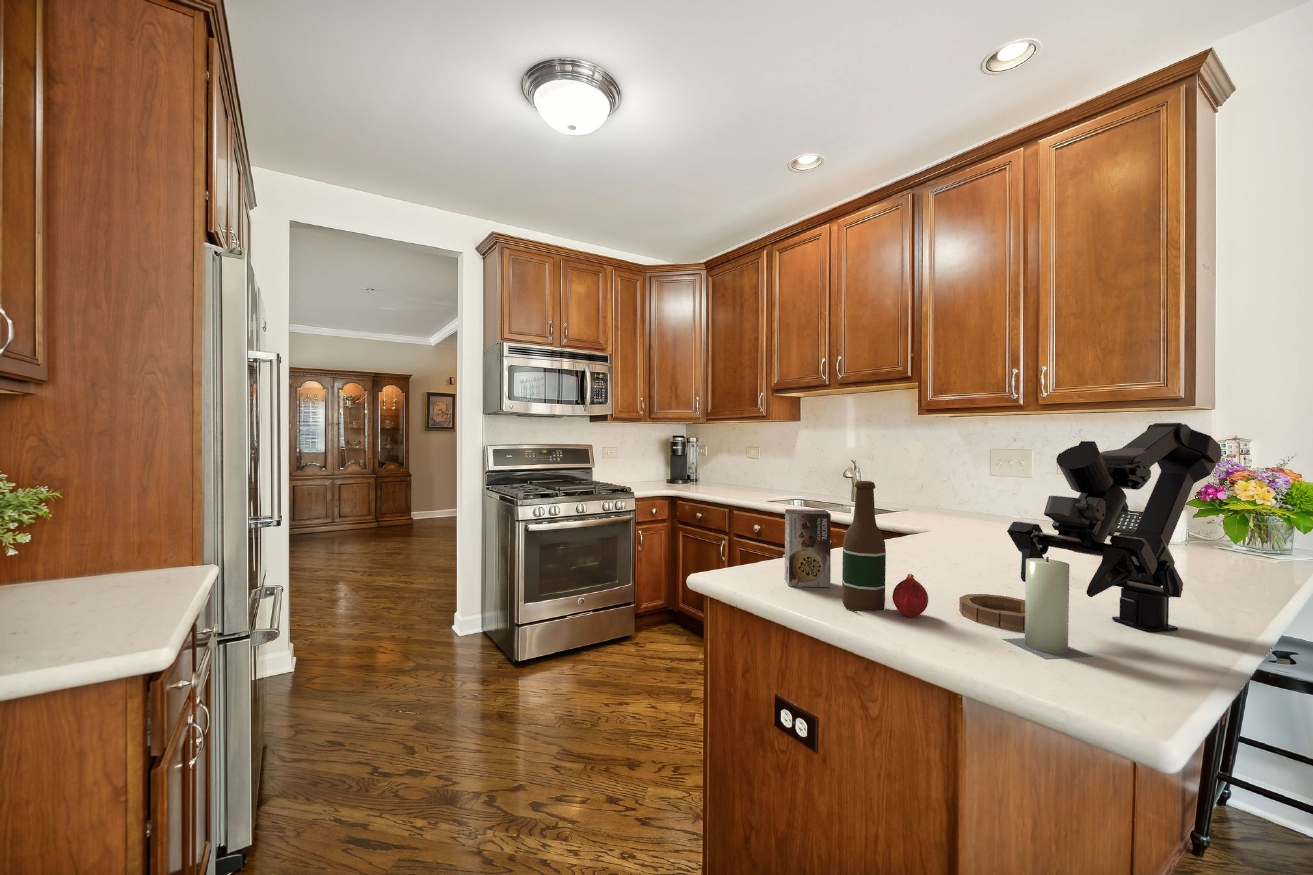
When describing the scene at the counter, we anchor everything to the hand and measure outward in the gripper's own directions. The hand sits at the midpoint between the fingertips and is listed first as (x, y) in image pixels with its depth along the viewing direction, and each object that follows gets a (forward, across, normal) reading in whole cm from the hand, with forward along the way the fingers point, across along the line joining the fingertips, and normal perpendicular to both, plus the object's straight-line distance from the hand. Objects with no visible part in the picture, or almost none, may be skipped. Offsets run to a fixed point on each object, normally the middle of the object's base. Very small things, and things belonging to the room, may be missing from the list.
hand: (1054, 587), depth 85 cm
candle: (+8, 0, +5) cm, 9 cm away
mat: (+8, 0, +6) cm, 10 cm away
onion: (+13, -19, +1) cm, 23 cm away
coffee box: (+13, -45, +1) cm, 47 cm away
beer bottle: (+15, -27, -1) cm, 31 cm away
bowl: (+2, -12, +11) cm, 16 cm away
